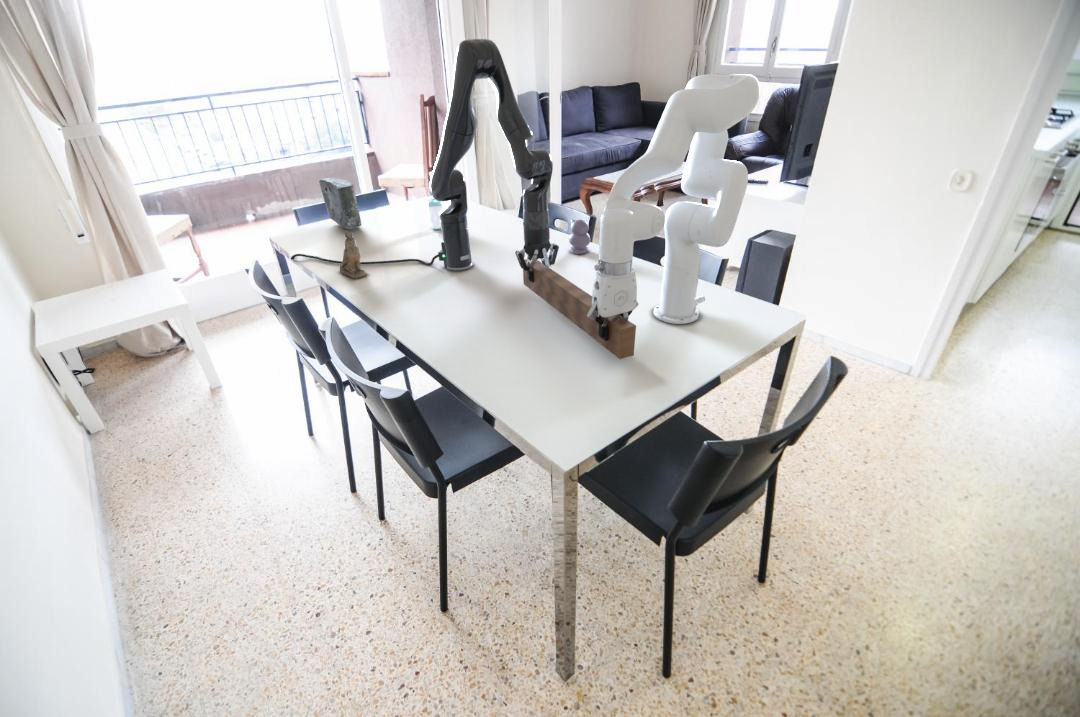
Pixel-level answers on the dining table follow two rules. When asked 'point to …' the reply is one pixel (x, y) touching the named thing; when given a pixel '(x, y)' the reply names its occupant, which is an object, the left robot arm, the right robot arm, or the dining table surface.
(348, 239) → the brown carved statuette
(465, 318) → the dining table surface
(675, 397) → the dining table surface
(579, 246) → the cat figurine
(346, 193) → the concrete block
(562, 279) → the post
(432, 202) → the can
